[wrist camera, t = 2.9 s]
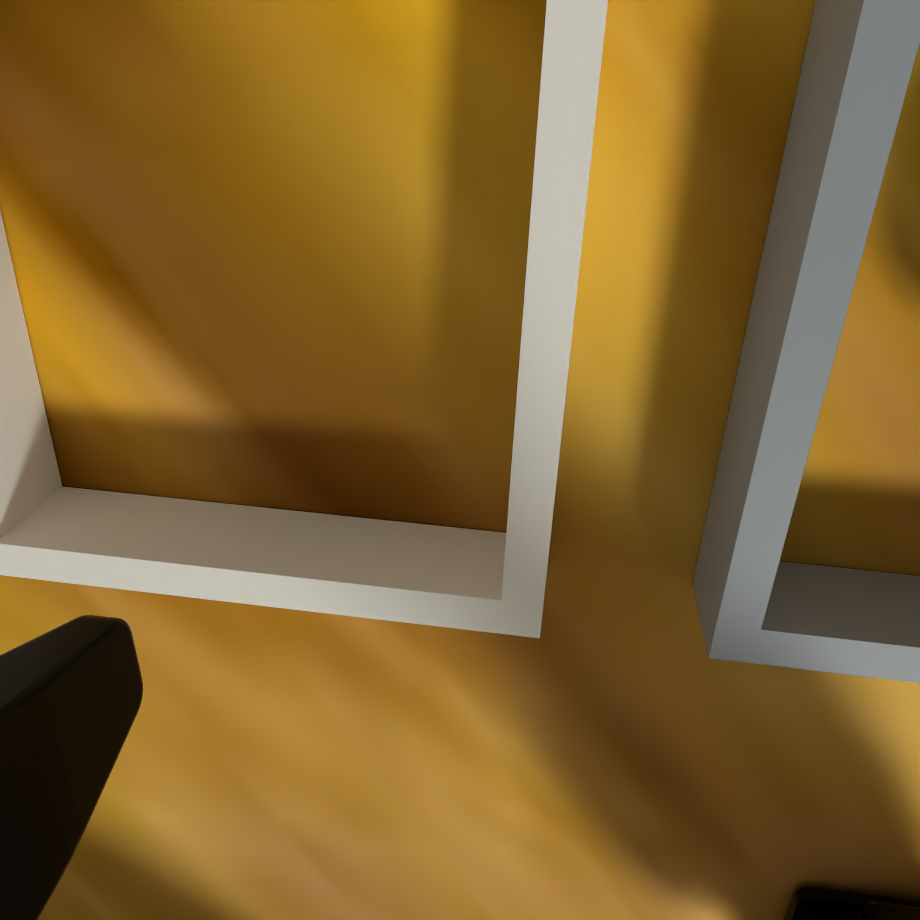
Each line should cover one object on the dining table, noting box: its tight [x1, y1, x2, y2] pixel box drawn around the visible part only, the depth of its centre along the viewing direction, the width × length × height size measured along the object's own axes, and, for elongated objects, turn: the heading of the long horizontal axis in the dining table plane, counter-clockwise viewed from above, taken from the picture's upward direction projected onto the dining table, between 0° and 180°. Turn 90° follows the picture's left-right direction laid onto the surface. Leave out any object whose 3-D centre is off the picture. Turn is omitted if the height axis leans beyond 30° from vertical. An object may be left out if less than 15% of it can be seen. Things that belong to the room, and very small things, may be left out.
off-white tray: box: [0, 0, 608, 638], centre depth 18 cm, size 15×15×3 cm
